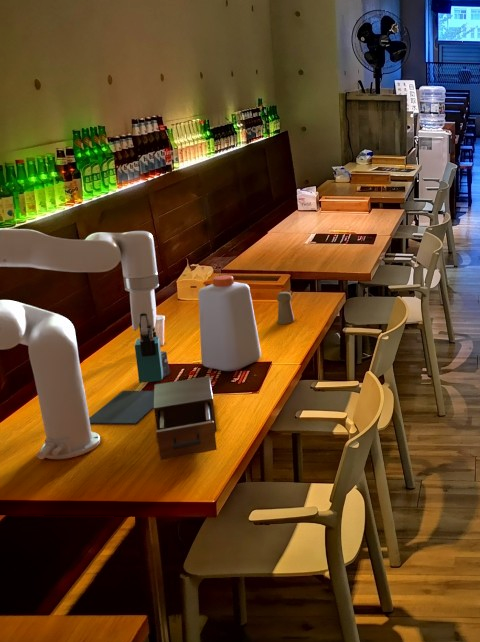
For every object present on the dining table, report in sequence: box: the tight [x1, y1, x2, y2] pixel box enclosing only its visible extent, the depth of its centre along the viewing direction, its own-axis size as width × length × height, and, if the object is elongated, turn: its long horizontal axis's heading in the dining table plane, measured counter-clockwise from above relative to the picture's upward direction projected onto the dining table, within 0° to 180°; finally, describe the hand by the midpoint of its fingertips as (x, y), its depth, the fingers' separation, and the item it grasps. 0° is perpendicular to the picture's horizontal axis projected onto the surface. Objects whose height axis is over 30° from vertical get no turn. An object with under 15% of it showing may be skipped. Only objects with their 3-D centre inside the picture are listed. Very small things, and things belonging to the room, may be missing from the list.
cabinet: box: [153, 375, 218, 432], centre depth 189 cm, size 16×14×9 cm
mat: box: [89, 390, 154, 426], centre depth 199 cm, size 20×14×1 cm
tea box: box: [134, 337, 163, 384], centre depth 182 cm, size 5×5×10 cm
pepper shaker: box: [276, 291, 295, 325], centre depth 267 cm, size 6×6×11 cm
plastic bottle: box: [198, 274, 262, 372], centre depth 227 cm, size 15×15×28 cm
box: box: [161, 350, 170, 379], centre depth 218 cm, size 6×6×7 cm
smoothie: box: [155, 314, 166, 347], centre depth 244 cm, size 6×6×14 cm
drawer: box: [155, 402, 218, 461], centre depth 176 cm, size 19×12×7 cm, turn 24°
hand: (149, 350), depth 182 cm, fingers closed on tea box, 5 cm apart
